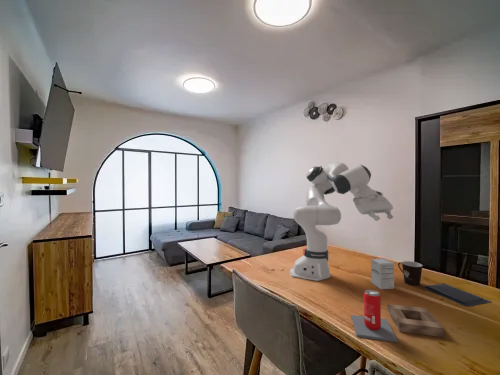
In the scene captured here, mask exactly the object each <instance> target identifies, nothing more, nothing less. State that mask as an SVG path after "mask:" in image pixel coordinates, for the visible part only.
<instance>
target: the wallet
mask: <svg viewBox="0 0 500 375" xmlns="http://www.w3.org/2000/svg"><path fill="white" fill-rule="evenodd" d="M421 288H422V289H424V290H426V291H428V292H431V293H433V294H436V295H438V296H440V297H443V298H445V299H448V300H449V301H451V302H454V303H456V304H459V305H461V306H463V307H468V308H471V307H474V306H475V307H476V306H481V305H485V304H490V303H492V301H491V300H489V299H486V298H484V297H481V296H479V295H476V294H473V293H471V292H468V291H465V290H462V289H460V288H457V287H455V286H453V285H449V284H447V283H438V284H436V283H435V284H429V285H423V286H422V287H421Z"/></svg>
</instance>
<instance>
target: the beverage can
mask: <svg viewBox="0 0 500 375" xmlns="http://www.w3.org/2000/svg"><path fill="white" fill-rule="evenodd" d="M381 299H382V297H381V294H380V292H379V291H377V290H373V289H365V290H364V293H363V316H364V323H365V326H366V327H367V328H368V329H370V330H374V331H377V330H379V329H380V327H381V319H382V316H381V315H382V312H381V311H382V309H381V308H382V307H381V304H382V302H381Z"/></svg>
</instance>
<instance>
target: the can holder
mask: <svg viewBox="0 0 500 375" xmlns="http://www.w3.org/2000/svg"><path fill="white" fill-rule="evenodd" d="M387 312H388V314H389V317H390V318H391V320H392V321H393V323H394V324H395V326H396V328H397V330H398V332H399V333H401V332H402V333H409V334H416V335H424V336H431V337H432V336H433V337H438V338H439V337H440V338H445V328H444V326H443V325H442V324H441V323H440V322H439V321H438V320H437V319H436V318H435V317H434V315H433V314H432V313H431V312H430V311H429V310H428V309H427V308H426V307H420V306H419V307H418V306H409V305H408V306H407V305H402V304H401V305H400V304H390V303H388V304H387Z"/></svg>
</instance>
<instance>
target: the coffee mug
mask: <svg viewBox="0 0 500 375" xmlns="http://www.w3.org/2000/svg"><path fill="white" fill-rule="evenodd" d="M400 264H401V267H402V268H401V267H400ZM397 266H398V269H399V270H400V271H401V273H402V274H403V281H404V284H406V285H407V286H411V287H419V286H421V281H422V280H421V279H422V272H423V264H421V263H419V262H416V261H410V260H403V261H402V262H398V263H397Z"/></svg>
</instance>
